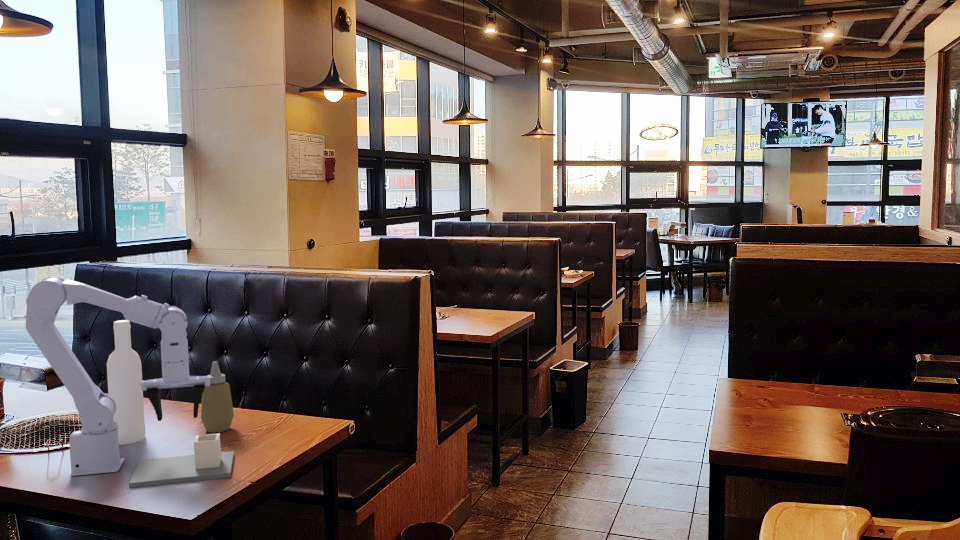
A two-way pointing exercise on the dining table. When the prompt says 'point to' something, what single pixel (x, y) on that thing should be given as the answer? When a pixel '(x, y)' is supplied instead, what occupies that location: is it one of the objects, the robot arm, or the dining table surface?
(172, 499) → the dining table surface
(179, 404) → the dining table surface
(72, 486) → the dining table surface
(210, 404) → the squeeze bottle
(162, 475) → the base plate
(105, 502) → the dining table surface
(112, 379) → the bottle
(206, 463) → the sleeve
